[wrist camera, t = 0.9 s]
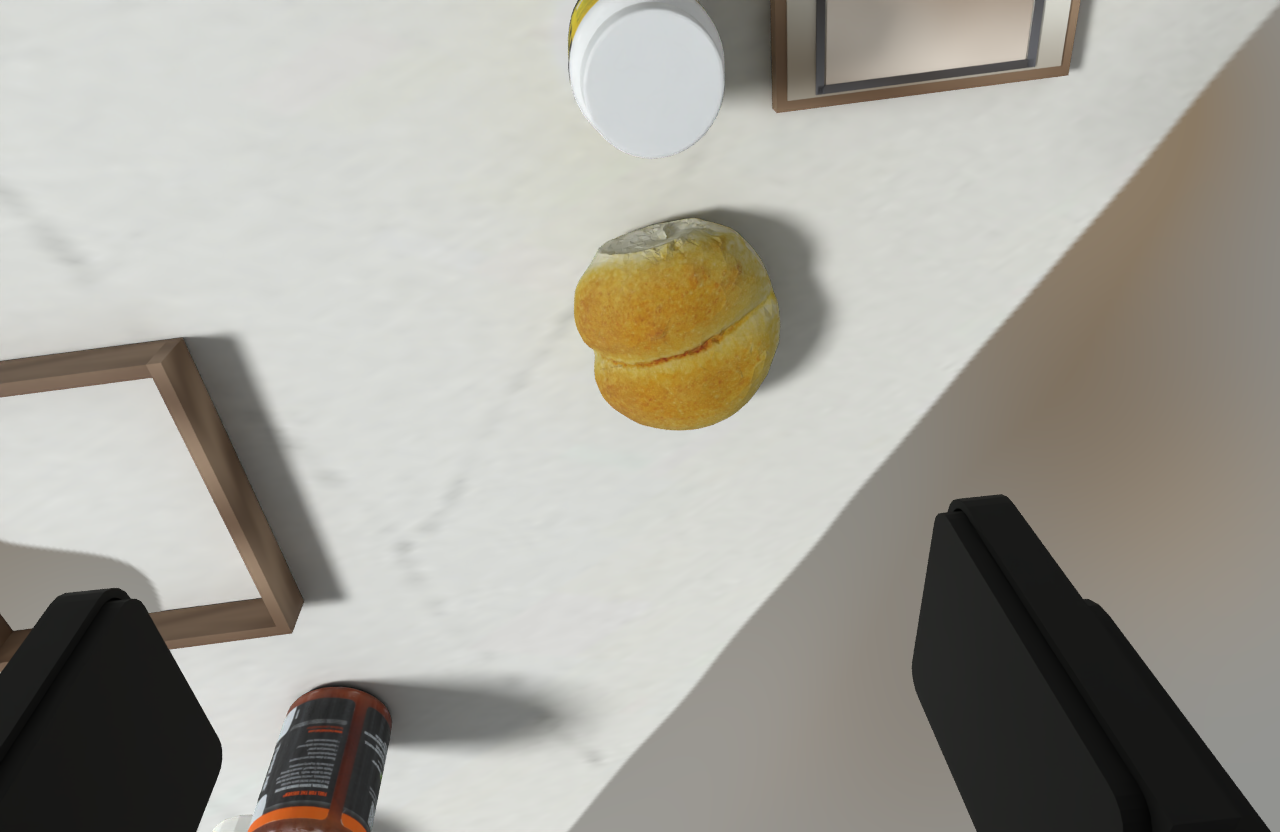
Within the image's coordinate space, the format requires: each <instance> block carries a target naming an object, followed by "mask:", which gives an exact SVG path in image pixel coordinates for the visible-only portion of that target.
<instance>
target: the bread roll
mask: <svg viewBox="0 0 1280 832" xmlns="http://www.w3.org/2000/svg"><path fill="white" fill-rule="evenodd" d="M574 317H575V323H576V326H577V329H578V331H579V333H580V335H581V337H582V339H583V341H584V342H585V343H586V344H587V345H588V346H589V347H590V348H592V349H593V350H594V354H595V364H594V372H595V380H596V382H597V385H598V387H599V390H600V392H601V394H602V396H603V398H604V399H605V400H606V401H607V402H608V403H609V404H610V405H611V406H612V407H613V408H614V409H615V410H617V411H618V412H620V413H621V414H623V415H625V416H626V417H628V418H630V419H631V420H633V421H635V422H637V423H639V424H642V425H645V426H650V427H654V428H659V429H666V430H692V429H699V428H703V427H707V426H711V425H714V424H716V423H718V422H720V421H722V420H724V419H727V418H728V417H730V416H732V415H733V414H735V413H736V412H737V411H739V410H740V409H741V408H742V407H743V406H744V405H745V404H746V403H748V401H749V400H750V399H751V398H752V396H753V395H754V394H755V392H756V391H757V390H758V388H759V387H760V385H761V384H762V382H763V380H764V379H765V377H766V376H767V374H768V371H769V369H770V366H771V363H772V360H773V357H774V354H775V352H776V349H777V346H778V343H779V336H780V316H779V307H778V302H777V299H776V297H775V294H774V292H773V288H772V285H771V281H770V278H769V276H768V274H767V271H766V268H765V266H764V264H763V262H762V260H761V259H760V257H759V256H758V254H757V253H756V252H755V250H754V249H753V248H752V246H751V245H750V244H749V243H748V242H747V241H746V240H745V239H744V238H743V237H742V236H741V235H740V234H739V233H738V232H736V231H734V230H733V229H731V228H730V227H726V226H723V225H721V224H717V223H713V222H710V221H704V220H702V219H698V218H688V219H681V220H676V221H672V222H665V223H658V224H654V225H651V226H648V227H645V228H643V229H639V230H635V231H633V232H631V233H628V234H626V235H622V236H619V237H617V238H615V239H612V240H610V241H608V242H606V243H605V244H604V245H602V246H601V247H600V248H599V249H598V251H597V253H596V255H595V257H594V259H593V260H592V262H591V264H590V266H589V267H588V269H587V270H586V271H585V273H584V274H583V276H582V277H581V279H580V280H579V283H578V285H577V287H576V290H575V298H574Z"/></svg>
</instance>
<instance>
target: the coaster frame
mask: <svg viewBox="0 0 1280 832" xmlns="http://www.w3.org/2000/svg"><path fill="white" fill-rule="evenodd" d="M145 378H153V380H154V382H155V384H156V386H157V388H158V390H159V392H160V394H161V396H162V398H163V400H164V402H165V404H166V406H167V408H168V410H169V412H170V414H171V416H172V418H173V420H174V422H175V424H176V426H177V428H178V430H179V432H180V434H181V436H182V438H183V440H184V442H185V444H186V446H187V448H188V450H189V452H190V454H191V456H192V458H193V460H194V462H195V464H196V466H197V468H198V470H199V472H200V475H201V477H202V479H203V481H204V483H205V485H206V487H207V489H208V491H209V493H210V495H211V497H212V499H213V501H214V503H215V505H216V507H217V509H218V511H219V513H220V515H221V517H222V519H223V521H224V523H225V525H226V527H227V529H228V531H229V533H230V535H231V537H232V539H233V541H234V543H235V545H236V547H237V549H238V551H239V553H240V555H241V557H242V559H243V561H244V563H245V565H246V567H247V569H248V571H249V573H250V575H251V577H252V579H253V581H254V583H255V585H256V587H257V589H258V591H259V593H260V595H261V597H262V598H260V599H253V600H245V601H237V602H230V603H222V604H215V605H207V606H199V607H192V608H184V609H177V610H169V611H161V612H154V613H149V615H150V617H151V618H152V620H153V622H154V624H155V625H156V627H157V629H158V631H159V633H160V634H161V636H162V638H163V640H164V642H165V643H166V645H167V647H168V649H177V648H184V647H192V646H200V645H207V644H215V643H222V642H230V641H237V640H245V639H253V638H260V637H268V636H275V635H283V634H290V633H292V632H293V630H294V627H295V624H296V622H297V619H298V616H299V613H300V611H301V608H302V605H303V603H304V600H303V598H302V596H301V594H300V592H299V590H298V587H297V585H296V583H295V581H294V579H293V577H292V574H291V572H290V570H289V568H288V566H287V563H286V561H285V559H284V557H283V555H282V553H281V550H280V548H279V546H278V544H277V542H276V540H275V537H274V535H273V533H272V531H271V529H270V527H269V524H268V522H267V520H266V518H265V516H264V513H263V511H262V509H261V507H260V505H259V503H258V500H257V498H256V496H255V494H254V492H253V490H252V487H251V485H250V483H249V481H248V479H247V477H246V474H245V472H244V470H243V468H242V466H241V463H240V461H239V459H238V457H237V455H236V453H235V450H234V448H233V446H232V444H231V442H230V440H229V437H228V435H227V433H226V431H225V429H224V427H223V424H222V422H221V420H220V418H219V416H218V414H217V411H216V409H215V407H214V405H213V403H212V400H211V398H210V396H209V394H208V392H207V390H206V387H205V385H204V383H203V381H202V379H201V377H200V374H199V372H198V370H197V368H196V366H195V364H194V361H193V359H192V357H191V355H190V353H189V350H188V348H187V346H186V344H185V342H184V340H183V338H175V339H168V340H160V341H152V342H145V343H137V344H129V345H122V346H114V347H106V348H99V349H91V350H83V351H76V352H68V353H60V354H53V355H45V356H37V357H30V358H22V359H14V360H7V361H0V397H7V396H15V395H23V394H30V393H38V392H46V391H53V390H61V389H69V388H76V387H84V386H92V385H99V384H107V383H115V382H122V381H130V380H138V379H145ZM32 629H33V628H32ZM32 629H25V630H17V631H13V630H12V629H11V628H10V626H9V625H8V624H7V622H6V621H5V620H4V618H3V617H2V616H1V614H0V672H2V670H3V669H4V668H5V666H6V665H7V663H8V662H9V661H10V659H11V658H12V656H13V655H14V654H15V652H16V651H17V650H18V648H19V647H20V645H21V644H22V643H23V641H24V640H25V638H26V637H27V636H28V634H29V633H30V632H31V630H32Z"/></svg>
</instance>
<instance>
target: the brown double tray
mask: <svg viewBox="0 0 1280 832" xmlns="http://www.w3.org/2000/svg"><path fill="white" fill-rule="evenodd" d="M1079 7H1080V0H770V8H771V60H772V108H773V109H774V110H775V111H776V113H780V112H788V111H796V110H804V109H811V108H819V107H827V106H835V105H842V104H850V103H858V102H865V101H873V100H881V99H889V98H896V97H904V96H912V95H919V94H927V93H935V92H943V91H950V90H958V89H966V88H974V87H981V86H989V85H997V84H1004V83H1012V82H1020V81H1028V80H1035V79H1043V78H1051V77H1058V76H1066V75H1068V73H1069V67H1070V61H1071V55H1072V49H1073V43H1074V37H1075V31H1076V25H1077V19H1078V13H1079Z"/></svg>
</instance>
